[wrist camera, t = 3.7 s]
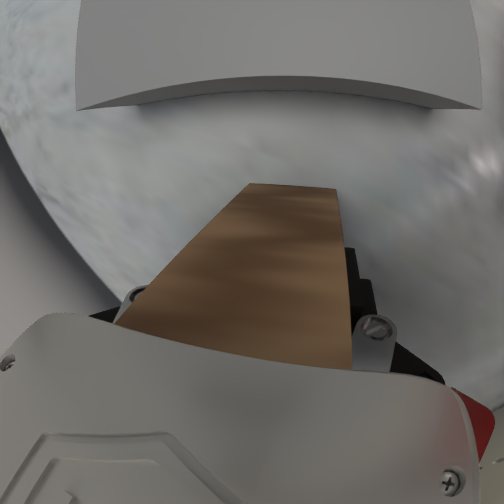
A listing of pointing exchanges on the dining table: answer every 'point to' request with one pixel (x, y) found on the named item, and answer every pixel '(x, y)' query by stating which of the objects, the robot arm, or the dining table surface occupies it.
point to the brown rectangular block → (258, 281)
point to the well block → (277, 50)
